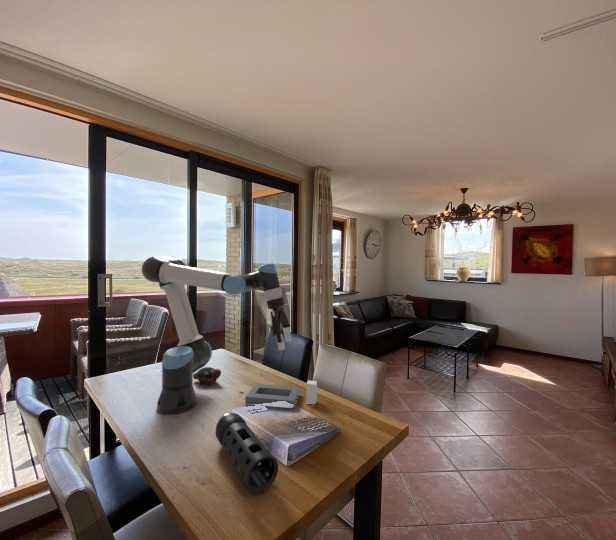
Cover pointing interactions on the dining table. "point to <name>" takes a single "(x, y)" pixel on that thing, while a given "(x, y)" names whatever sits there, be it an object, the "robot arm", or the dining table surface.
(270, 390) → the block
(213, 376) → the decorative turtle
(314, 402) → the plug
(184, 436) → the dining table surface
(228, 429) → the muzzle brake
